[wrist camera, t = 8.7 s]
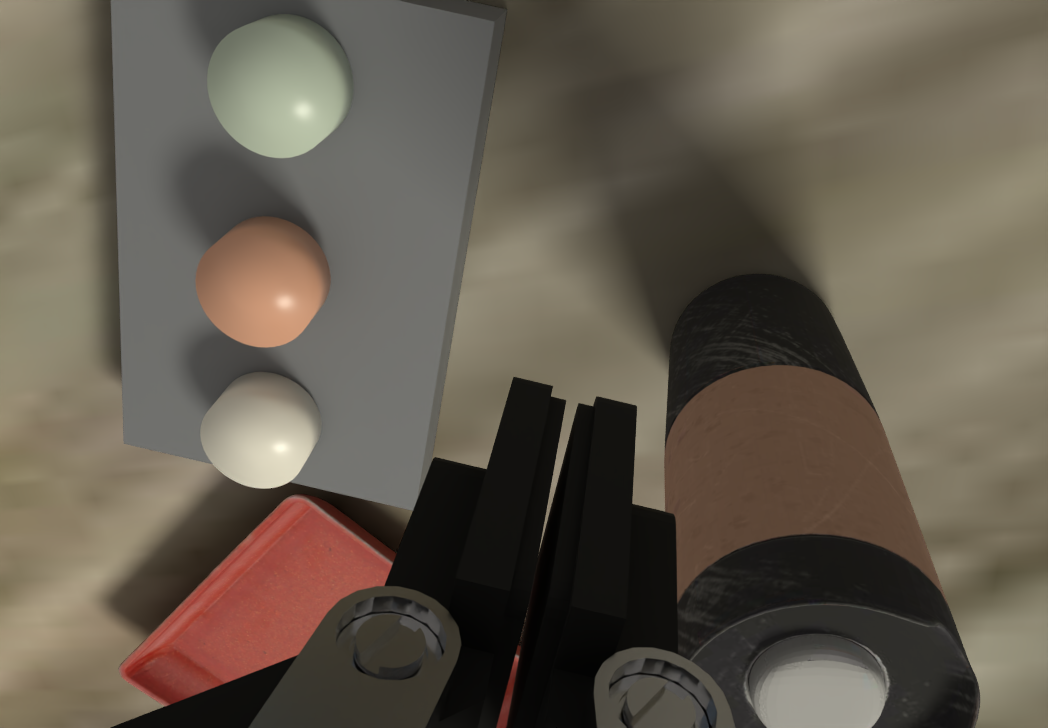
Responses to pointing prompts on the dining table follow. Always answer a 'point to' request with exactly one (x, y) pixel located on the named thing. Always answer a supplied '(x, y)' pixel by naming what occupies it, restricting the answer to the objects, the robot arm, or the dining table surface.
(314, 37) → the sage button
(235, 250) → the terracotta button
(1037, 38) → the dining table surface
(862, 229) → the dining table surface
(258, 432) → the cream button
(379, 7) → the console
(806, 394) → the travel mug
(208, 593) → the plant saucer
